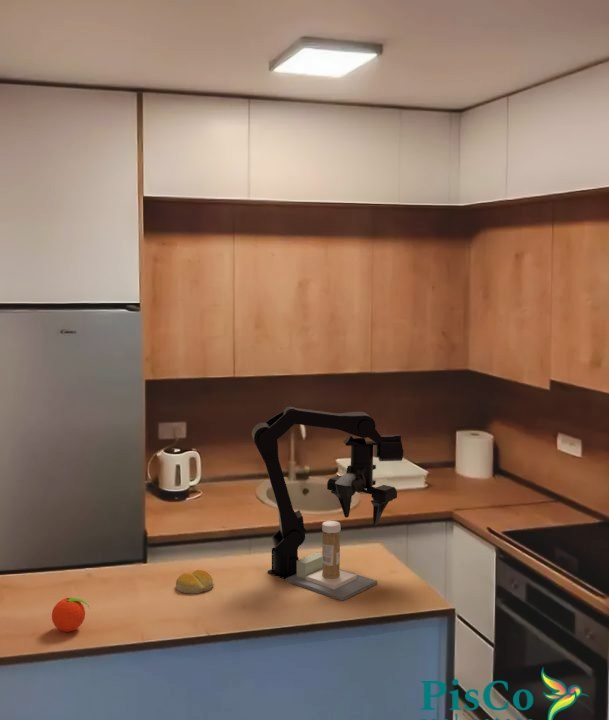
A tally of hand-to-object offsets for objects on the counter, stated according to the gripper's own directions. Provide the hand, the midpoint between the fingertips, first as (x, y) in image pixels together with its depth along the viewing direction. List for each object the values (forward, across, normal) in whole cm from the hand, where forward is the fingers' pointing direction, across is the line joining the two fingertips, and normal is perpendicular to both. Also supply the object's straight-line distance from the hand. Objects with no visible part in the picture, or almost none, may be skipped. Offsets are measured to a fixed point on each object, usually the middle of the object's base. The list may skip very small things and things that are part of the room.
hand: (360, 520), depth 209 cm
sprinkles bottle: (+11, 0, -12) cm, 17 cm away
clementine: (+13, -25, -70) cm, 75 cm away
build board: (+13, 0, -12) cm, 18 cm away
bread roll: (+14, -23, -36) cm, 45 cm away
